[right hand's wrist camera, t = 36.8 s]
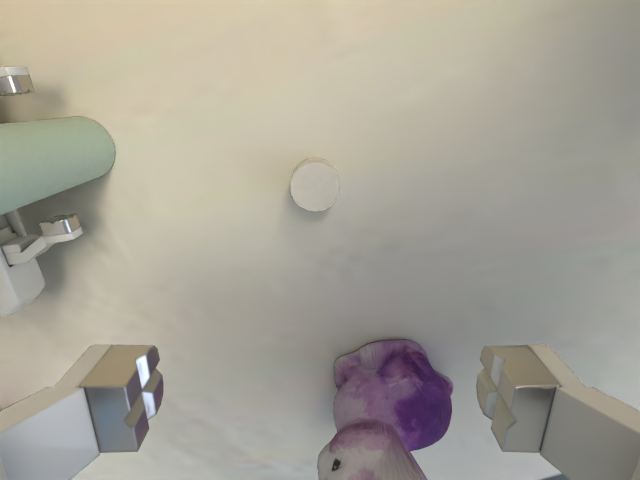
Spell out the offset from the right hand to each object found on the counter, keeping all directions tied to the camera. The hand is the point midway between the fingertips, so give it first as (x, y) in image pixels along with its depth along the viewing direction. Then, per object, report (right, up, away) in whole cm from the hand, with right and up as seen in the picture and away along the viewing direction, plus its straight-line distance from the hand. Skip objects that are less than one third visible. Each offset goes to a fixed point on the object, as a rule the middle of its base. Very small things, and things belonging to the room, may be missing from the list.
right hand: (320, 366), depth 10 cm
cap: (0, +7, +21) cm, 22 cm away
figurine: (+6, -10, +29) cm, 31 cm away
